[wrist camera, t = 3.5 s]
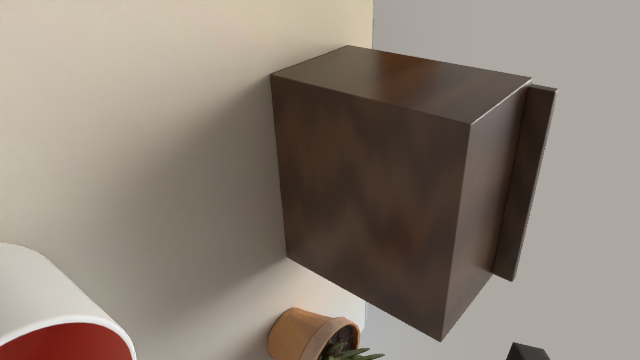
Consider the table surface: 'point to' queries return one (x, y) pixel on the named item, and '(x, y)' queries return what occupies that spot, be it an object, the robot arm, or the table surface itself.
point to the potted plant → (315, 338)
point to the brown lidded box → (408, 176)
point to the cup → (51, 314)
